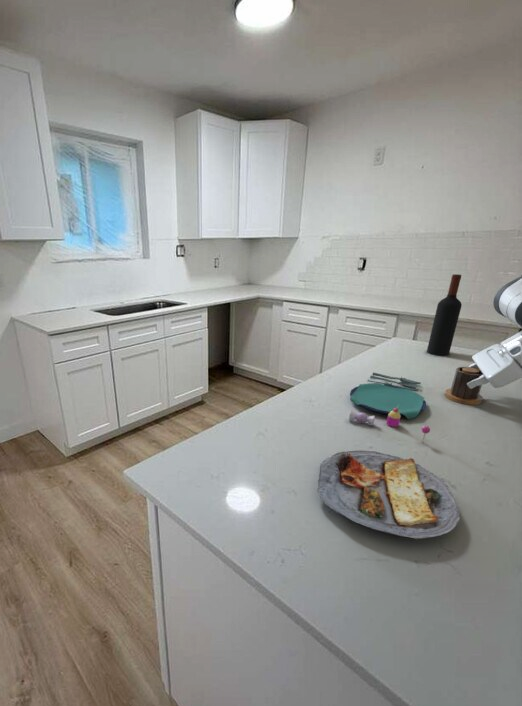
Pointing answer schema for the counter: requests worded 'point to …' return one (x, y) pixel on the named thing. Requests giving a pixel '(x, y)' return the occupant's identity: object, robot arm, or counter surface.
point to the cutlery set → (389, 396)
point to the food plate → (387, 494)
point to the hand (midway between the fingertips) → (465, 380)
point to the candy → (391, 420)
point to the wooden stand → (461, 400)
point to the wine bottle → (445, 321)
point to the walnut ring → (461, 387)
